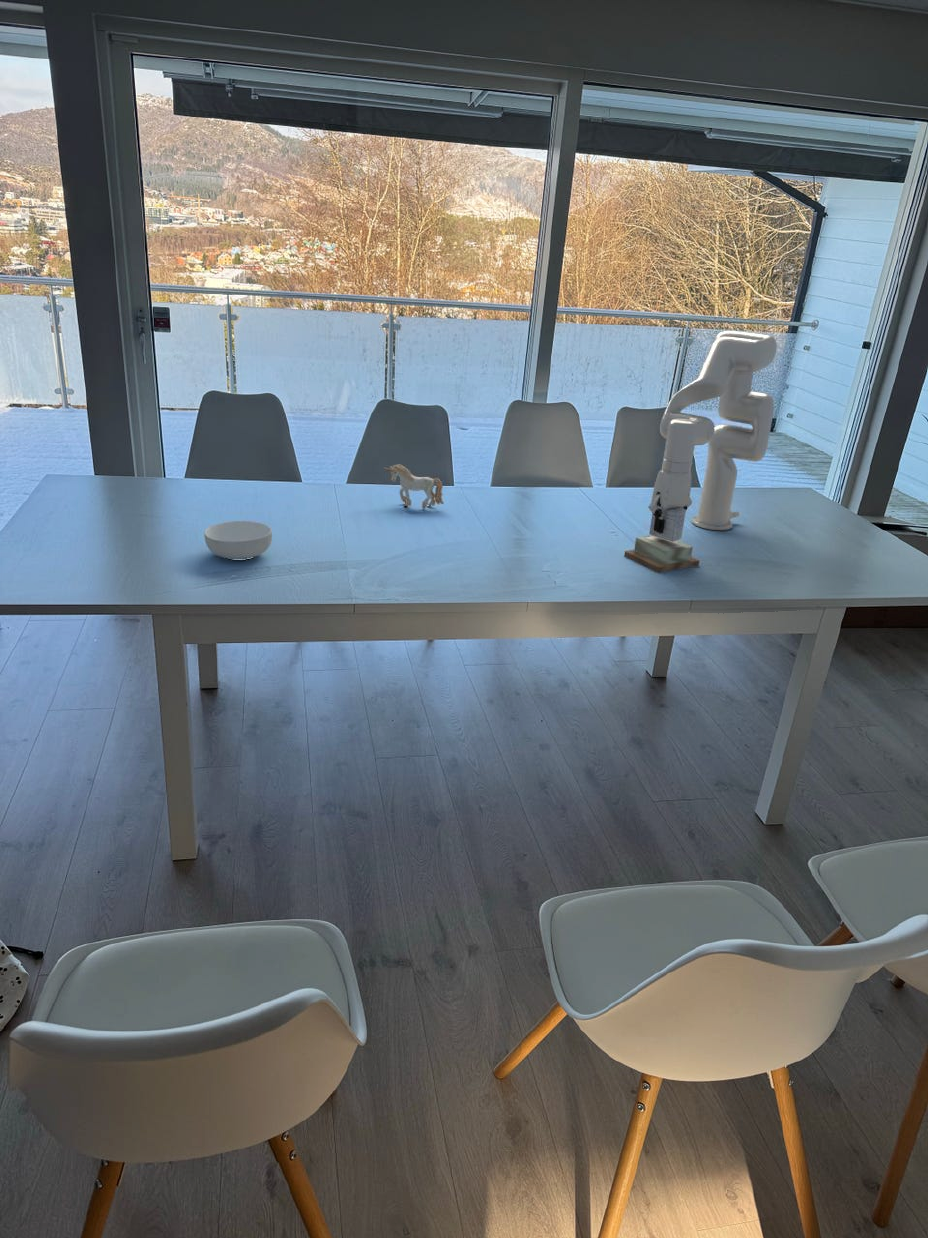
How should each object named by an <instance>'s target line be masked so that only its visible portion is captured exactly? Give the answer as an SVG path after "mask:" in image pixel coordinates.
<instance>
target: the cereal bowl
mask: <svg viewBox="0 0 928 1238" xmlns="http://www.w3.org/2000/svg"><path fill="white" fill-rule="evenodd" d="M203 534H204V541H205V544H206V547H207V548H208V549H209V551H210V552H211V553H213V554H215V555H216V556H217V557H221V558H224V559H226V558H229V559H247V558H251V557H254V556H255V557H257V556H259V555H262V554H263V553H264V552H266V551H267V550H268V549H269V547H270V546H271V544H272V541H273V540H272V538H273V530H272V528H271V527H270V526H269V525H267V524H266V523H265V524H264V523H263V522H262V523H261V522H257V521H249V520H248V521H247V520H234V521H233V520H232V521H225V522H219V523H217V524H213V525H210V526H209V527H207V528H206V529H205V530H204V533H203ZM255 557H254V558H255Z"/></svg>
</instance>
